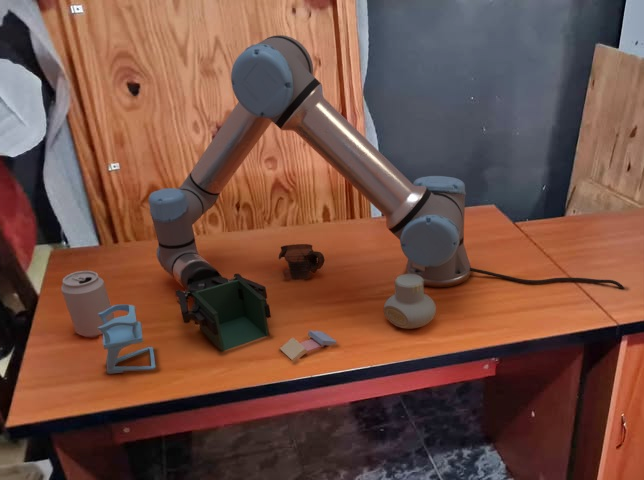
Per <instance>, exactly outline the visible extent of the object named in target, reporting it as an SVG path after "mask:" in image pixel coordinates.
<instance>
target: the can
mask: <svg viewBox="0 0 644 480" xmlns="http://www.w3.org/2000/svg"><path fill="white" fill-rule="evenodd" d="M60 290H61V293H62V296H63V299H64V301H65V304H66V307H67V310H68V313H69V316H70V319H71V322H72V325H73V329H74V331H75V332H76V334H78V335H79V336H83V337H85V338H99V337H100V336H101V335H102V336H103V333H102V332H101V331H100V330H99V329H98V327H100V326H102V325H104V322H103V320H102V319H101V317H100V316H99V315H98V313H100V312H103V311H105V310H106V309H108V308H110V307H112V304H111V300H110V298H109V294H108V290H107V287H106V285H105V281H104V279H103V278H102V277H100V276H99V274H98V273H97V272H95V271H93V270H77V271H74V272H72V273H68V274H67V275H66V276H64V277H63V278H62V285H61V287H60ZM105 318H106V319H107V321H108V322H109V321H111V320H112V319H114V318H116V316H115V315H114V312H112V313H110V314H108V315H107V316H106V317H105Z"/></svg>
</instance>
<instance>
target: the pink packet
mask: <svg viewBox="0 0 644 480" xmlns="http://www.w3.org/2000/svg"><path fill="white" fill-rule="evenodd" d="M299 343H300V344H301V345H302V346H303V347H305V348H306V350H307V352H306V353H305V354H308V353H311V352H314V351H316V350H319V349H322V348H324V347H325V345H321V344H320V343H318V342H317V341H316V340H314V339H313V338H312V337H311V338H309V339H307V340H304V341H302V342H299ZM305 354H304V355H305Z"/></svg>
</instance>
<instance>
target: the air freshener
mask: <svg viewBox="0 0 644 480" xmlns="http://www.w3.org/2000/svg"><path fill="white" fill-rule="evenodd" d="M436 312H437V306H436V303H435V302H434V300H433V299H432V298H431V297H430V296H429V295H427V294H426V293H425V286H424V280H423V278H422V277H421V276H419V275H416V274H407V273H404V274H400V275H398V276H396V278H395V279H394V294H392V295H391V296H389V297H388V299H386V301H385V302H384V305H383V314H384V316H385V318H386V319H387V320H388V321H389V322H390V323H391V324H392V325H393V326H396V327H398V328H401V329H408V330H409V329H410V330H411V329H419V328H422V327H424V326H426V325H428V324H429V323H430V322H431V321H432V320H433V319H434V318H435V316H436Z"/></svg>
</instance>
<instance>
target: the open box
mask: <svg viewBox="0 0 644 480" xmlns="http://www.w3.org/2000/svg"><path fill="white" fill-rule="evenodd" d="M238 288H241V289H242V291H243V297H244V300H241V299H239V294H238ZM192 296H193V298H192V299H193V302H194V301H195V302H196V303H197V304H198V305H199V307H200V309H201V308H203V309H204V310H205V311H206V312H207V313H208V314H209V315H210V316H211V317H212V318H213V319H214V320H215V321H216V324H217V329H218V335H214V334H213V333H212V332H211V331H210V330H209V329H208V328H207V327H206V326H200V325H199V329H200V331H201V332H202V333H203V334H204V335H205V336H206V337H207V338H208V339H209V340H210V341H211V343H213V344H214V345H215V347H216V348H218V350H219V351H220V352H221V353H223V352H225V351H228V350H232V349H234V348H237V347H239V346H242V345H246V344H248V343H252V342H254V341H257V340H260V339H262V338H266V337H269V336H270V331H269V325H268V324H269V323H268V318H267V317H266V312H265V305H264V298H263V297H262V296H261V295H260V294H258V293H257V292H256V291H255V290H254V289H253V288H251V287H250V286H249V285H248V284H247V283H246V282H244V281H243V280H242V279H237V280H234V281H230V282H227V283H224V284H220V285H217V286H213V287H210V288H206V289H203V290H199V291H196V292H193V293H192Z"/></svg>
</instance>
